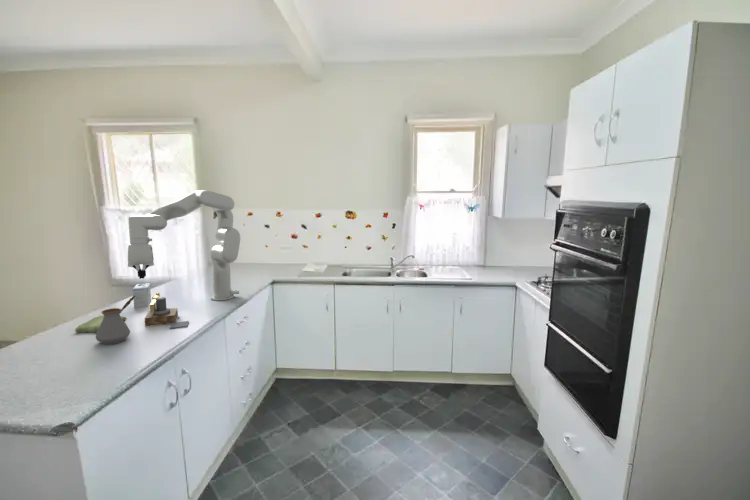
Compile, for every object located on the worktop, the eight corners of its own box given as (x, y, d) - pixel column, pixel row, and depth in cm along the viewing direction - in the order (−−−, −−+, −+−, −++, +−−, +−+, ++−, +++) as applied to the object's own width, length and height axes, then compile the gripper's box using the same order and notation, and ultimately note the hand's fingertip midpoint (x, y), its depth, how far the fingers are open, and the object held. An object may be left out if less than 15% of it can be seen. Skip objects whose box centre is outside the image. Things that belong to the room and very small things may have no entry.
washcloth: (128, 319, 169) (127, 313, 168) (105, 333, 151) (104, 326, 151) (98, 320, 167) (98, 313, 167) (72, 334, 150) (71, 327, 149)
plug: (171, 317, 172) (169, 294, 170) (169, 322, 166) (168, 298, 164) (155, 319, 169) (153, 296, 167) (152, 324, 163) (151, 300, 161)
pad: (188, 322, 167) (188, 320, 166) (187, 327, 160) (187, 325, 160) (171, 323, 164) (171, 322, 164) (169, 328, 157) (169, 327, 157)
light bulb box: (137, 302, 194) (136, 283, 192) (151, 301, 197) (150, 282, 195) (133, 308, 184) (132, 288, 183) (148, 306, 187) (147, 287, 186)
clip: (161, 301, 179) (161, 292, 178) (156, 312, 162) (155, 302, 161) (155, 301, 178) (154, 292, 177) (148, 313, 161) (147, 303, 160)
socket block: (178, 314, 177) (177, 303, 176) (175, 323, 164) (174, 312, 163) (150, 316, 172) (149, 306, 171) (145, 326, 159) (144, 315, 159)
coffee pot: (118, 346, 138) (115, 310, 136) (88, 346, 138) (85, 309, 135) (150, 327, 159) (148, 295, 157) (124, 326, 159) (122, 294, 156)
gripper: (158, 239, 175) (160, 275, 178) (122, 240, 169) (125, 277, 172) (156, 241, 169) (158, 278, 171) (118, 242, 162) (121, 280, 165)
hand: (142, 277), depth 172 cm, fingers closed
